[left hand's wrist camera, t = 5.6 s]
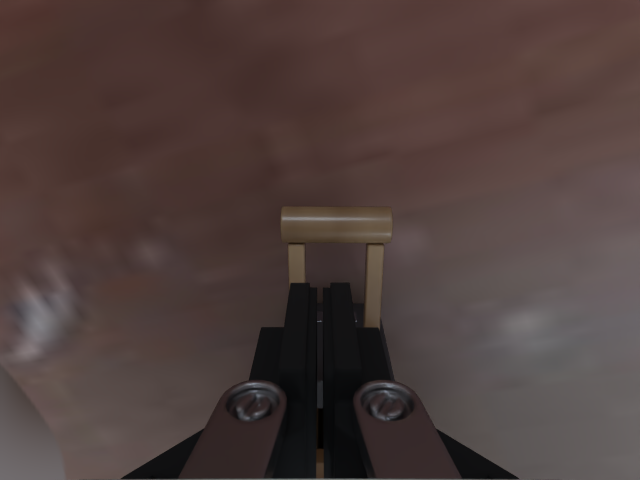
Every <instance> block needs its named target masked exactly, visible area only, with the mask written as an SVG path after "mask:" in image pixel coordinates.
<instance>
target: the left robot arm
mask: <svg viewBox="0 0 640 480" xmlns="http://www.w3.org/2000/svg"><path fill="white" fill-rule="evenodd" d="M316 450H317V288H310V283H290V290H289V297H288V304H287V311H286V318H285V325H284V327H262V328H261V331H260V335H259V339H258V343H257V348H256V352H255V356H254V360H253V365H252V369H251V373H250V377H249V381H245V382H241V383H239V384H237V385H234V386H232V387H231V388H230V389H228V390H227V391H226V392H225V393H224V394H223V396H222V397H221V398H220V400H219V402H218V404H217V406H216V408H215V409H214V411H213V413H212V415H211V417H210V419H209V421H208V423H207V424H206V426H205V428H204V429H202V430H201V431H199V432H197V433H196V434H194V435H192V436H191V437H189V438H187V439H186V440H184V441H182V442H181V443H179V444H177V445H176V446H174V447H172V448H171V449H169V450H167V451H166V452H164V453H162V454H161V455H159V456H157V457H156V458H154V459H152V460H151V461H149V462H147V463H146V464H144V465H142V466H141V467H139V468H137V469H136V470H134V471H132V472H131V473H129V474H127V475H126V476H124V477H123V478H121V479H81V480H559V479H519V478H517V477H516V476H514V475H513V474H511V473H509V472H508V471H506V470H504V469H503V468H501V467H499V466H498V465H496V464H494V463H493V462H491V461H489V460H488V459H486V458H484V457H483V456H481V455H479V454H478V453H476V452H474V451H473V450H471V449H469V448H468V447H466V446H464V445H463V444H461V443H459V442H458V441H456V440H454V439H453V438H451V437H449V436H448V435H446V434H444V433H443V432H441V431H439V430H438V429H436V428H435V426H434V424H433V423H432V421H431V419H430V417H429V415H428V413H427V411H426V409H425V408H424V406H423V404H422V402H421V400H420V398H419V397H418V396H417V394H416V393H415V392H414V391H413V390H412V389H410V388H409V387H408V386H406V385H403V384H401V383H399V382H395V381H391V377H390V373H389V369H388V365H387V360H386V356H385V352H384V348H383V343H382V339H381V335H380V331H379V328H378V327H356V325H355V318H354V311H353V304H352V297H351V290H350V283H330V288H323V450H324V479H316Z"/></svg>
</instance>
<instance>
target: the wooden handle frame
mask: <svg viewBox="0 0 640 480" xmlns="http://www.w3.org/2000/svg"><path fill="white" fill-rule="evenodd" d="M280 231H281V240H282V242H283V243H288V272H289V290H290V283H306V250H305V243H366V259H365V286H364V304H353V311H354V318H355V325H356V327H378V328H379V331H380V335H381V339H382V343H383V348H384V352H385V356H386V360H387V365H388V369H389V373H390V377H391V381H395V380H394V376H393V371H392V367H391V362H390V358H389V353H388V348H387V344H386V339H385V335H384V330H383V326H382V321H381V299H382V280H383V261H384V244H383V243H390V242H391V239H392V231H393V217H392V210H391V207H334V206H283V207H282V209H281V219H280ZM317 449H323V303H317Z"/></svg>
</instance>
